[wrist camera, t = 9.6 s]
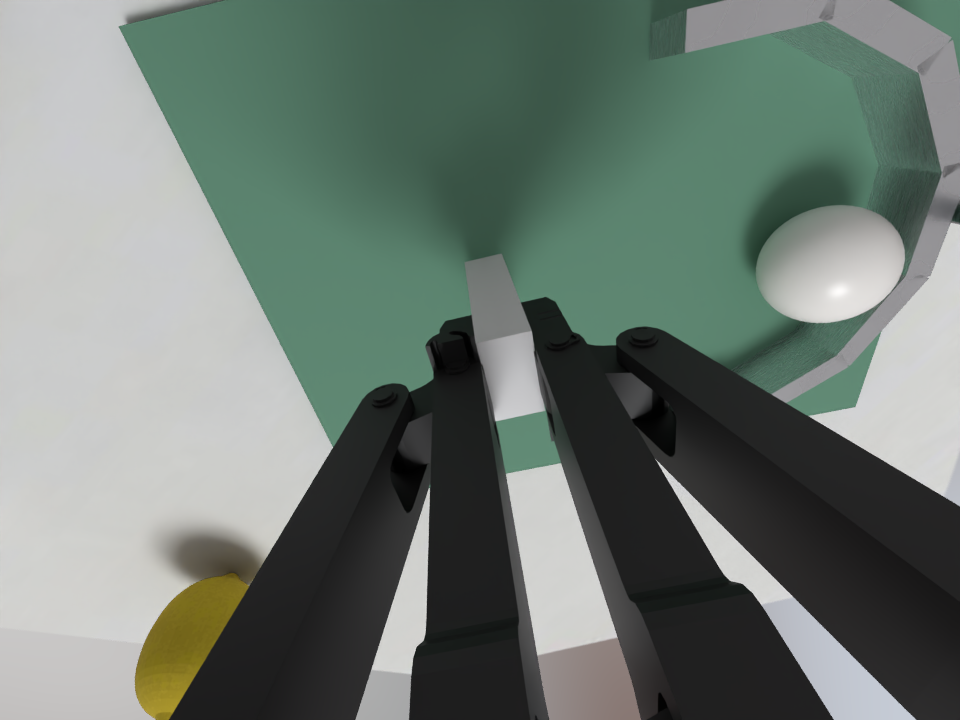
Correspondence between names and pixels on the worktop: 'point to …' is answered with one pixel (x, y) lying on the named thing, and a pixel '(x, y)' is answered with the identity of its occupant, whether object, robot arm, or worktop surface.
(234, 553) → the worktop surface
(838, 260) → the golf ball
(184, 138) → the putting mat
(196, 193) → the worktop surface
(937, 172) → the cup
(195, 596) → the lemon
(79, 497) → the worktop surface
